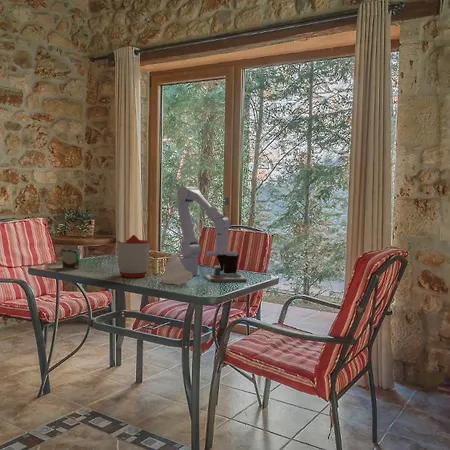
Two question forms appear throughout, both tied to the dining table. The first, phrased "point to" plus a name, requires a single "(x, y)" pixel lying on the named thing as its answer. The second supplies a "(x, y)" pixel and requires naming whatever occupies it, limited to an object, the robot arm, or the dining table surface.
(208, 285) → the dining table surface
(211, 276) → the grey flat slab
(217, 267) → the breaker lever
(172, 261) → the beige faceted rock
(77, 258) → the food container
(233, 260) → the coffee mug
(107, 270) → the dining table surface
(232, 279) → the grey square tray
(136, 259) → the citrus juicer
